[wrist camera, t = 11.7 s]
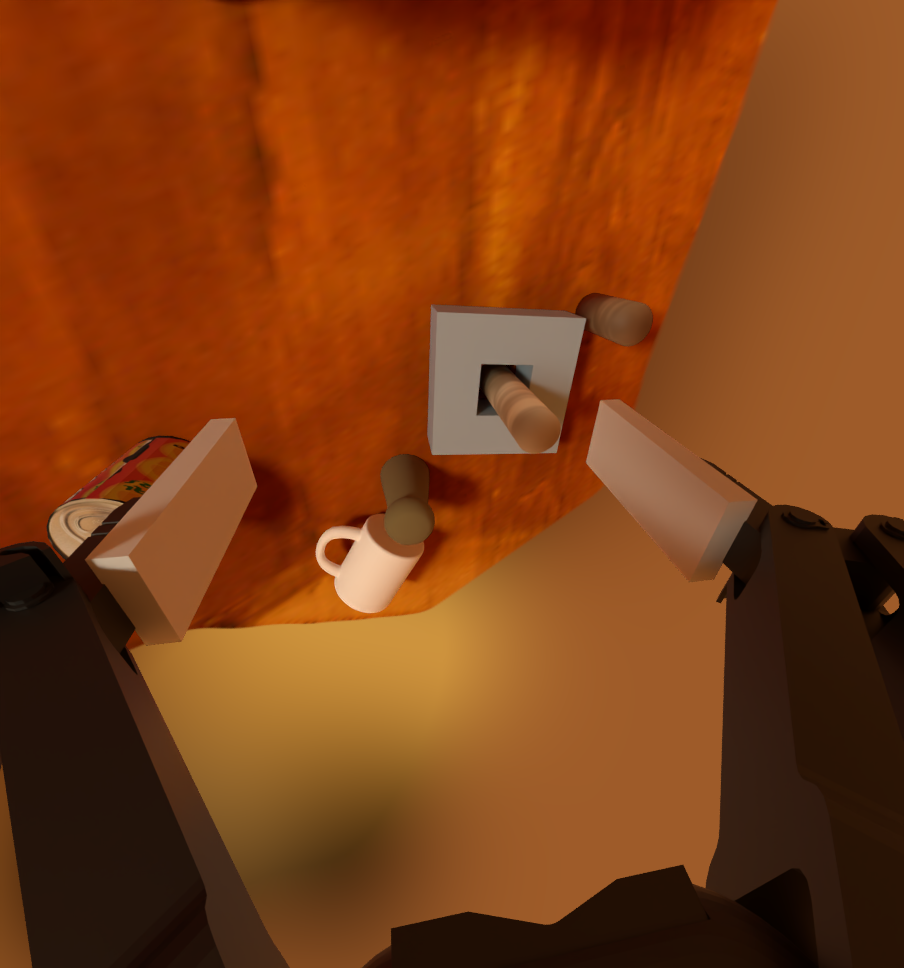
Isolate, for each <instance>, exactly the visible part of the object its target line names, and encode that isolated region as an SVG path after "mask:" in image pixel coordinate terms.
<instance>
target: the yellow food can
mask: <svg viewBox="0 0 904 968" xmlns="http://www.w3.org/2000/svg"><path fill="white" fill-rule="evenodd" d="M189 443H190V442H189V441H187V440H185V439H181V438H177V437H173V436H155V437H150V438H147V439H145V440H143V441H141V442H139V443H138V444H136V445H135V446H134V447H133V448H131V449H130V450H129V451H128V452H126V453H125V454H124V455H123V456H121V457H120V458H119V459H118V460H116V461H115V462H114V463H113V464H111V465H110V466H109V467H108V468H106V469H105V470H104V471H103V472H101V473H100V474H99V475H98V476H96V477H95V478H94V479H93V480H92V481H90V482H89V483H88V484H87V485H85V486H84V487H83V488H82V489H80V490H79V491H78V492H77V493H75V494H74V495H73V496H72V497H70V498H69V499H68V500H67V501H65V502H64V503H63V504H62V505H60V506H59V507H58V508H57V509H56V510H55V511H54V512H53V513H52V514H51V515H50V517H49V520H48V523H47V533H48V538H49V540H50V542H51V544H52V546H53V547H54V549H55V550H56V551H57V552H58V553H59V554H60V555H61V556H62V557H63V558H64V559H65V560H66V559H67V558H68V557H69V556H70V555H71V554H72V553H73V552H74V551H75V550H76V549H77V548H78V547H79V546H80V545H81V544H82V543H83V542H84V541H85V540H86V538H87V537H91V533H92V532H93V531H94V530H95V529H96V528H97V527H98V526H99V525H102V522H103V521H104V520H105V519H106V518H107V517H108V515H109V514H110V513H111V512H112V511H113V510H114V509H116V508H117V507H119V506H121V505H122V504H124V503H125V502H127V501H129V500H130V499H132V498H133V497H142V496H143V495H144V493H145V492H146V491H147V490H148V489H149V488H150V487H151V486H152V485H153V483H154V482H155V481H156V480H157V479H158V478H159V477H160V476H161V475H162V473H163V472H164V471H165V470H166V469H167V468H168V467H169V466H170V465H171V463H172V462H173V461H174V460H175V459H176V458H177V457H178V456H179V455H180V453H181V452H182V451H183V450H184V449H185V448H186V447H187V446H188V445H189Z"/></svg>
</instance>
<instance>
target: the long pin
mask: <svg viewBox="0 0 904 968" xmlns="http://www.w3.org/2000/svg"><path fill="white" fill-rule="evenodd" d="M479 387H480V388H481V390H482V391H483V393H484V394H485V396H486V397H487V399H488V400H489V402H490V403H491V405H492V406H493V408H494V409H495V411H496V412H497V414H498V415H499V417H500V418H501V420H502V421H503V423H504V424H505V426H506V427H507V429H508V430H509V432H510V433H511V435H512V436H513V438H514V439H515V441H516V442H517V444H518V445H519V447H520V448H521V449H522V450H524V451H525V452H528V453H532V454H536V453H541V452H544V451H546V450H548V449H550V448H551V447H552V446H553V445H554V444H555V443H556V441H557V440H558V438H559V436H560V432H561V425H560V422H559V420H558V418H557V417H556V416H555V415H554V414H553V413H552V412H551V411H550V410H549V409H548V408H547V407H546V406H545V405H544V404H543V403H542V402H541V401H540V400H539V399H538V398H537V397H536V396H535V395H534V394H533V393H532V392H531V391H530V390H529V389H528V388H527V387H526V386H525V385H524V384H523V383H522V382H521V381H520V380H519V379H518V378H517V377H516V376H515V375H514V374H513V373H512V372H511V371H510V370H509V369H508V368H507V367H506V366H505V365H501V364H484V365H482V367H481V372H480V383H479Z"/></svg>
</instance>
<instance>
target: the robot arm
mask: <svg viewBox="0 0 904 968" xmlns="http://www.w3.org/2000/svg"><path fill="white" fill-rule="evenodd" d="M586 463H587V464H588V466H589V467H590V468H591V469H592V470H593V471H594V473H595V474H596V475H597V476H598V477H599V478H600V480H601V481H602V482H603V483H604V484H605V485H606V486H607V488H608V489H609V490H610V491H611V492H612V493H613V495H614V496H615V497H616V498H617V499H618V500H619V501H620V503H621V504H622V505H623V506H624V507H625V508H626V510H627V511H628V512H629V513H630V514H631V515H632V516H633V518H634V519H635V520H636V521H637V522H638V524H639V525H640V526H641V527H642V528H643V529H644V530H645V532H646V533H647V534H648V535H649V536H650V537H651V538H652V540H653V541H654V542H655V543H656V544H657V546H658V547H659V548H660V549H661V550H662V551H663V553H664V554H665V555H666V556H667V557H668V558H669V559H670V561H671V562H672V563H673V564H674V565H675V566H676V568H677V569H678V570H679V571H680V572H681V573H682V575H683V576H684V577H685V578H686V579H687V580H688V581H689V582H695V581H703V580H712V579H714V578H715V576H716V575H717V573H718V571H719V569H720V567H721V566H722V564H723V563H724V564H725V565H726V566H727V567H728V568H729V569H730V570H731V571H732V574H731V576H730V578H729V580H728V581H727V583H726V584H725V586H724V588H723V590H722V591H721V593H720V595H719V597H718V599H717V601H716V602H719V603H721V602H722V600H723V599H724V598H727V602H726V634H725V667H724V700H723V702H724V703H723V733H722V736H723V737H722V765H721V800H720V802H721V803H720V830H719V839H718V844H717V848H716V851H715V853H714V856H713V859H712V861H711V864H710V867H709V872H708V876H707V880H706V888H703V887H700V886H697V885H694V884H692V882H691V880H690V878H689V876H688V874H687V872H686V870H685V868H684V866H683V865H680V866H675V867H670V868H666V869H661V870H657V871H652V872H647V873H643V874H639V875H634V876H629V877H625V878H620V879H616V880H615V881H614V882H612V883H611V884H610V885H608V886H607V887H606V888H604V889H603V890H601V891H600V892H599V893H597V894H596V895H594V896H593V897H592V898H590V899H589V900H587V901H586V902H585V903H583V904H582V905H580V906H579V907H578V908H576V909H575V910H574V911H572V912H571V913H569V914H568V915H567V916H565V917H564V918H563V919H561V920H560V921H558V922H556V923H554V924H551V925H543V924H537V923H531V922H525V921H519V920H513V919H507V918H502V917H496V916H490V915H484V914H478V913H472V912H465V913H460V914H455V915H451V916H446V917H442V918H437V919H433V920H428V921H423V922H419V923H415V924H410V925H405V926H401V927H397V928H392V929H391V946H389V947H388V948H386V949H385V950H383V951H382V952H380V953H379V954H377V955H376V956H374V957H373V958H372V959H371V960H370V961H369V962H368V963H367V964H365V965H364V966H363V967H362V968H904V521H903V519H900V518H896V517H894V518H892V517H888V516H884V515H868V516H865V517H864V518H863V519H862V521H861V522H860V523H859V525H858V526H857V528H856V529H855V530H849V529H841V528H833V527H832V525H831V524H830V523H829V522H828V521H826V520H825V519H824V518H822V517H821V516H819V515H816V514H815V513H813V512H811V511H808V510H805V509H802V508H799V507H795V506H790V505H775V506H772V505H771V504H769V503H768V502H766V501H765V500H764V499H762V498H761V497H759V496H758V495H756V494H755V493H754V492H752V491H751V490H749V489H748V488H747V487H745V486H744V485H743V484H741V483H740V482H736V479H734V478H733V477H731V476H730V475H726V472H724V471H723V470H722V469H720V468H719V467H717V466H716V465H715V464H713V463H711V462H708V461H706V460H704V459H702V458H699V457H698V456H696V455H695V454H694V453H693V452H691V451H690V450H688V449H687V448H686V447H684V446H683V445H681V444H680V443H679V442H677V441H676V440H675V439H673V438H672V437H670V436H669V435H668V434H666V433H665V432H663V431H662V430H661V429H659V428H658V427H657V426H655V425H654V424H653V423H651V422H650V421H648V420H647V419H646V418H644V417H643V416H642V415H640V414H639V413H637V412H636V411H635V410H633V409H632V408H631V407H629V406H628V405H626V404H625V403H624V402H622V401H621V400H620V399H615V400H600V405H599V409H598V413H597V417H596V422H595V426H594V430H593V435H592V439H591V443H590V448H589V452H588V456H587V460H586ZM256 488H257V483H256V480H255V477H254V474H253V471H252V468H251V465H250V462H249V459H248V455H247V452H246V449H245V446H244V443H243V440H242V437H241V434H240V431H239V428H238V425H237V422H236V419H235V418H228V419H211V420H210V421H209V422H208V423H207V424H206V426H205V427H204V428H203V429H202V430H201V431H200V432H199V433H198V435H197V436H196V437H195V438H194V439H193V440H192V441H191V442H190V443H189V445H188V446H187V447H186V448H185V449H184V450H183V451H182V452H181V453H180V455H179V456H178V457H177V458H176V459H175V460H174V461H173V462H172V463H171V465H170V466H169V467H168V468H167V469H166V470H165V471H164V472H163V473H162V475H161V476H160V477H159V478H158V479H157V480H156V481H155V482H154V483H153V485H152V486H151V487H150V488H149V489H148V490H147V491H146V492H145V493H144V495H143V496H142V497H133V498H132V499H130V500H129V501H127V502H125V503H124V504H122V505H121V506H119V507H117V508H116V509H114V510H113V511H112V512H111V513H110V514H109V515H108V517H107V518H106V519H105V520H104V521H103V522H102V525H99V526H98V527H97V528H96V529H95V530H94V531H93V532H92V533H91V537H87V538H86V540H85V541H84V542H83V543H82V544H81V545H80V546H79V547H78V548H77V549H76V550H75V551H74V552H73V553H72V554H71V555H70V556H69V557H68V558H67V559H66V560H65V562H64V563H62V562H61V561H60V559H59V558H58V557H57V555H56V554H55V553H54V551H53V550H52V549H51V547H49V546H48V545H47V544H46V543H43V542H34V541H32V542H25V543H18V544H14V545H11V546H7V547H4V548H1V549H0V769H1V764H2V765H3V772H4V779H5V785H6V792H7V799H8V806H9V812H10V819H11V826H12V833H13V840H14V846H15V853H16V860H17V866H18V873H19V880H20V887H21V894H22V900H23V906H24V913H25V921H26V927H27V934H28V941H29V947H30V954H31V961H32V968H289V966H288V964H287V963H286V961H285V959H284V958H283V956H282V955H281V953H280V952H279V950H278V949H277V947H276V946H275V945H274V943H273V941H272V939H271V938H270V936H269V934H268V932H267V930H266V929H265V927H264V925H263V923H262V921H261V919H260V917H259V914H258V912H257V910H256V908H255V906H254V904H253V902H252V900H251V898H250V896H249V894H248V892H247V890H246V888H245V886H244V884H243V882H242V880H241V877H240V875H239V873H238V871H237V869H236V867H235V865H234V863H233V861H232V859H231V857H230V855H229V853H228V851H227V849H226V847H225V845H224V842H223V841H222V839H221V836H220V834H219V832H218V830H217V828H216V826H215V824H214V822H213V820H212V818H211V816H210V814H209V812H208V810H207V808H206V806H205V803H204V802H203V799H202V797H201V795H200V793H199V791H198V789H197V787H196V785H195V783H194V781H193V779H192V777H191V775H190V773H189V771H188V768H187V766H186V765H185V763H184V760H183V758H182V756H181V754H180V752H179V750H178V748H177V746H176V744H175V742H174V740H173V738H172V736H171V734H170V731H169V729H168V727H167V725H166V723H165V722H164V719H163V717H162V715H161V713H160V711H159V709H158V707H157V705H156V703H155V701H154V699H153V697H152V694H151V693H150V690H149V688H148V686H147V684H146V682H145V680H144V678H143V676H142V674H141V672H140V670H139V668H138V666H137V664H136V662H135V660H134V658H133V656H132V654H131V652H130V651H129V650H128V648H127V647H126V646H125V645H126V643H127V642H128V640H129V638H130V637H131V635H132V633H133V632H134V630H135V631H136V632H137V634H138V635H139V636H140V638H141V639H142V641H143V642H144V643H145V645H146V646H147V645H155V644H164V643H172V642H181V641H182V639H183V637H184V635H185V633H186V631H187V629H188V627H189V625H190V623H191V621H192V619H193V617H194V615H195V613H196V611H197V609H198V607H199V605H200V603H201V601H202V598H203V596H204V594H205V592H206V590H207V588H208V586H209V584H210V582H211V580H212V578H213V576H214V574H215V572H216V570H217V568H218V566H219V564H220V562H221V560H222V557H223V555H224V553H225V551H226V549H227V547H228V545H229V543H230V541H231V539H232V537H233V535H234V533H235V531H236V529H237V527H238V525H239V523H240V521H241V519H242V516H243V514H244V512H245V510H246V508H247V506H248V504H249V502H250V500H251V498H252V496H253V494H254V492H255V490H256ZM894 593H896V594H897V596H898V598H899V604H900V605H899V608H898V609H897V610H896V611H895V612H894V613H892V614H889V613H888V611H887V610H886V609H885V607H884V606H883V605H884V604H885V603H886V602H887V601H888V600H889V599H890V597H892V595H893V594H894Z"/></svg>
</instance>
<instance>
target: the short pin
mask: <svg viewBox="0 0 904 968" xmlns="http://www.w3.org/2000/svg"><path fill="white" fill-rule="evenodd" d="M575 315H578V316H581V317H584V318H586V322H585V327H584V330H587V331H589V332H591V333H594V334H596V335H599V336H601V337H603V338H606V339H608V340H611V341H613V342H615V343H618V344H620V345H623V346H633V345H635V344H637V343H639V342H641V341H642V340H643V339H644V338H645V337H646V336H647V334H648V333H649V331H650V329H651V326H652V321H653V315H652V311H651V309H650V308H649V307H648V306H647V305H646V304H644V303H640V302H635V301H631V300H626V299H622V298H617V297H613V296H608V295H604V294H599V293H592V294H589V295H587V296H585V297H584V298H583V299H582V300H581V301H580V303H579V304H578V306H577V309H576V313H575Z"/></svg>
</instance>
